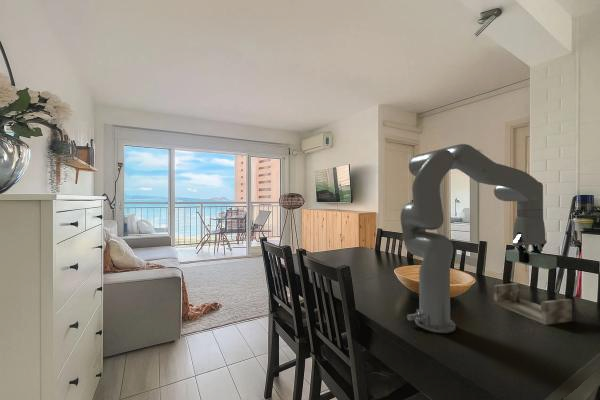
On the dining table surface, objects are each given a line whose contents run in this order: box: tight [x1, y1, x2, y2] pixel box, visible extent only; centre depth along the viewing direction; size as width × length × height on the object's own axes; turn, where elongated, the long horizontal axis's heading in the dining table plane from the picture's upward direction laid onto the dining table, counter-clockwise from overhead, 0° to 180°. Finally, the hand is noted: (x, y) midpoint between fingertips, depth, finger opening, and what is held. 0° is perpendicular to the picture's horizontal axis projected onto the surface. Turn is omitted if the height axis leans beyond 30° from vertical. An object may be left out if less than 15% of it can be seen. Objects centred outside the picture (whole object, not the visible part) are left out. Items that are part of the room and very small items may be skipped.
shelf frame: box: [493, 282, 573, 326], centre depth 100 cm, size 12×19×8 cm, turn 12°
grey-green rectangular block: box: [505, 248, 558, 270], centre depth 100 cm, size 14×5×4 cm, turn 15°
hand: (530, 261), depth 100 cm, fingers closed on grey-green rectangular block, 5 cm apart
